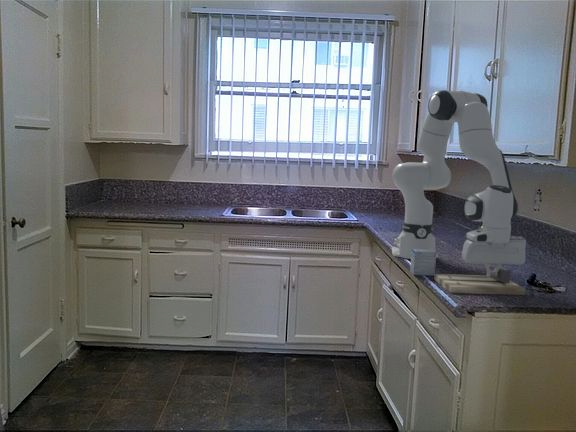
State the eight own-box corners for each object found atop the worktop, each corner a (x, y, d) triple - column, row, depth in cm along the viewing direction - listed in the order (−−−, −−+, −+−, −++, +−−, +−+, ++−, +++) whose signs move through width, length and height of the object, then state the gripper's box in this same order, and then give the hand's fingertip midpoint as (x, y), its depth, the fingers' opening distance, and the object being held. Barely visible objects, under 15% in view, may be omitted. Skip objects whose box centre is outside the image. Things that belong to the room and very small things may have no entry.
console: (433, 279, 178) (434, 273, 177) (501, 281, 179) (502, 275, 179) (450, 292, 162) (450, 286, 162) (524, 294, 163) (525, 288, 163)
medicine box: (431, 273, 187) (433, 249, 186) (434, 276, 182) (436, 252, 181) (409, 272, 187) (411, 248, 185) (413, 275, 182) (414, 251, 181)
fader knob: (493, 278, 173) (495, 266, 172) (502, 278, 173) (503, 266, 172) (500, 282, 168) (501, 269, 167) (509, 282, 168) (510, 270, 167)
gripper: (521, 234, 172) (517, 275, 174) (461, 232, 171) (458, 273, 173) (531, 238, 165) (527, 280, 167) (469, 236, 164) (465, 278, 166)
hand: (491, 276), depth 170 cm, fingers closed
